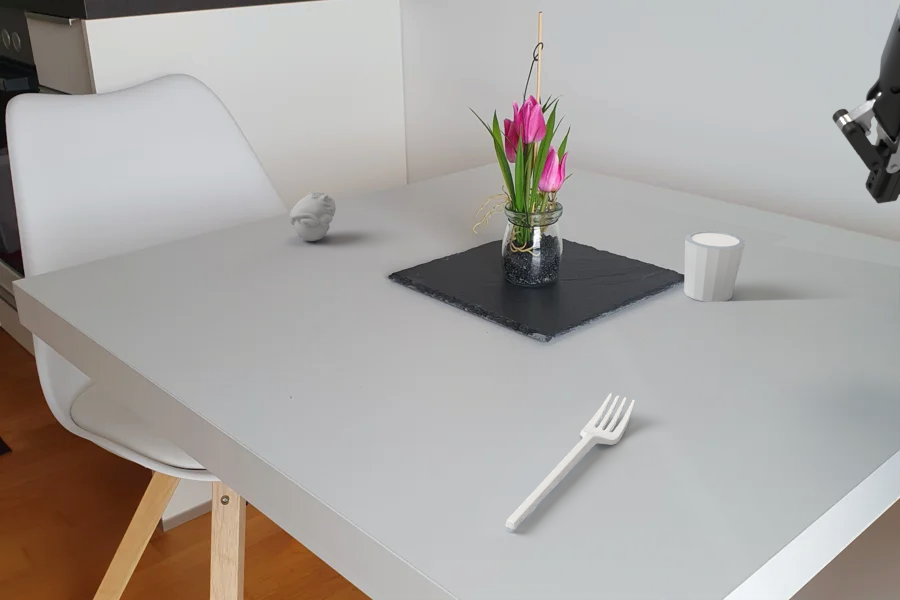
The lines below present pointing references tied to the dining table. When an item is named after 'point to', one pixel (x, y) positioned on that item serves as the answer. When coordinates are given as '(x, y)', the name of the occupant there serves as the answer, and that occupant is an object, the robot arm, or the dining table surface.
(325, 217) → the frog figurine
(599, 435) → the fork
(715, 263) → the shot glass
